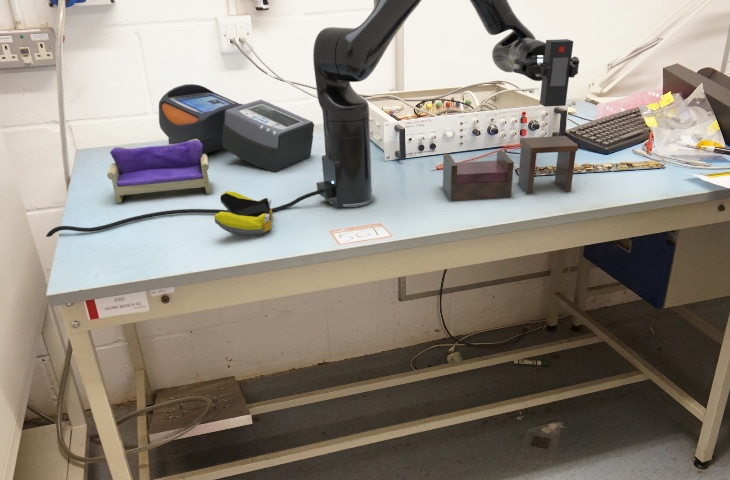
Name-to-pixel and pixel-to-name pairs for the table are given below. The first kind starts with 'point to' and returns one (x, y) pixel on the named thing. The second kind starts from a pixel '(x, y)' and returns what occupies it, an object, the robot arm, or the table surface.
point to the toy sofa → (158, 168)
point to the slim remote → (556, 72)
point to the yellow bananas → (244, 214)
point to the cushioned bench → (476, 187)
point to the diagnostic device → (235, 127)
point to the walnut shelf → (547, 145)
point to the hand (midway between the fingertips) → (561, 72)
